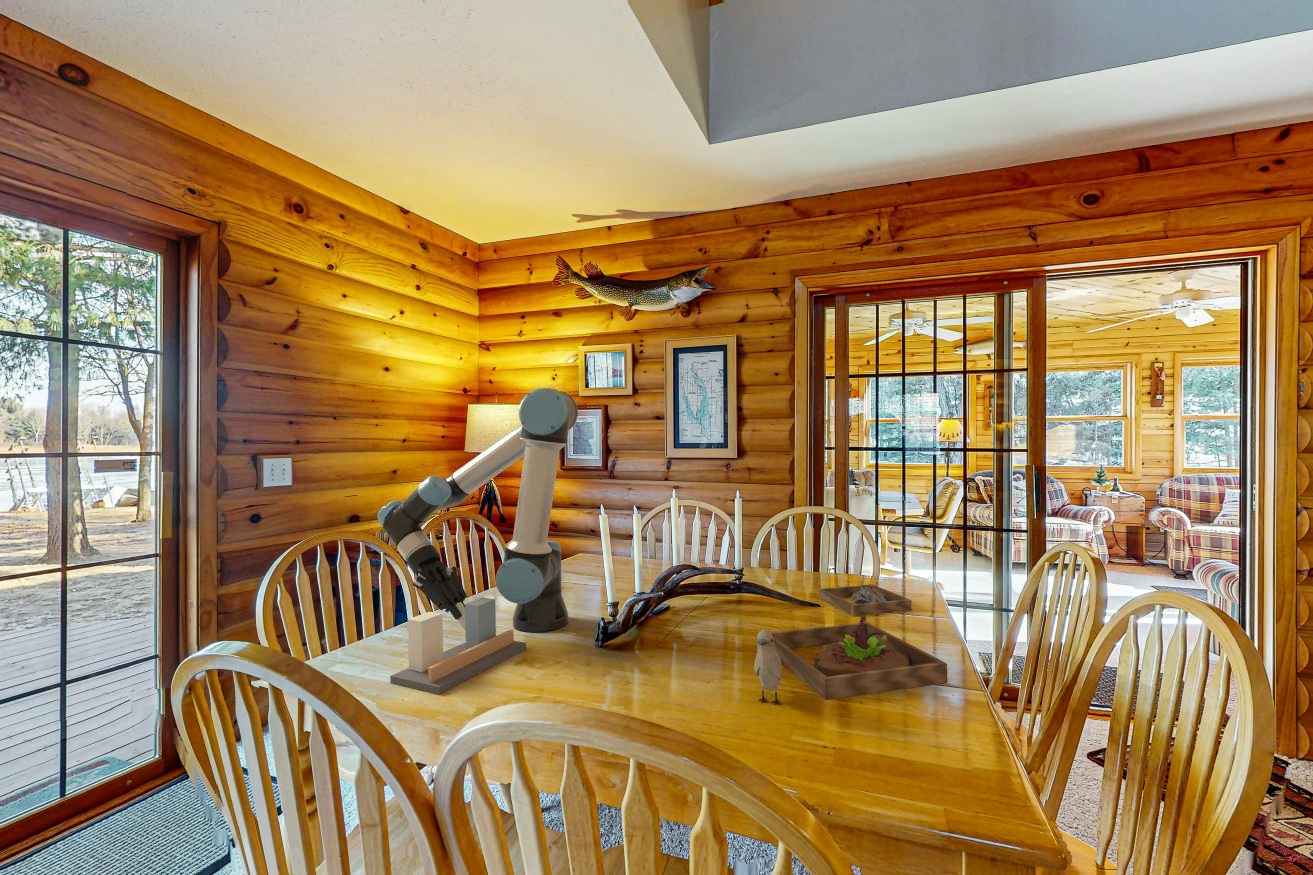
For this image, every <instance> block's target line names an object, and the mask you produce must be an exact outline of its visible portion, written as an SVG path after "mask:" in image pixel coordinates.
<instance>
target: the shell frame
mask: <svg viewBox="0 0 1313 875" xmlns="http://www.w3.org/2000/svg"><path fill="white" fill-rule="evenodd" d="M865 586H867V587H869V588H871V589H872V590H874V591H875V592H877V593H878V594H880V595H881V596H882V597H883V598H885V599H886V600H887V601H886V602H875V603H865V604H861V603H852V602H850V601H849V600H847V599H844V598H850V597H851V598H852V596H853V594H854V593H855V592H857V591H859V590H860V588H861V587H865ZM818 599H819V600H821V601H822V602H825V603H826V604H829V605H831V606H832V607H834V608H836V609H839V610H840V611H842V612H844V613H846V614H848V615H850V616H852V617H859V616H860V617H861V616H862V615H865V616H871V615H872V616H873V615H879V614H889V613H898V612H911V611H912V599H909V598H907V597H905V596H902V595H899V594H898V593H894V591H893V592H892V591H890V590H888V589H885V588H883V587H880V586H877V585H875V584H873V583H871V584H860V585H848V586H837V587H826V588H818Z"/></svg>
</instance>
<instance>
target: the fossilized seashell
mask: <svg viewBox="0 0 1313 875" xmlns="http://www.w3.org/2000/svg"><path fill="white" fill-rule="evenodd" d="M851 600H852V601H853V602H855V603H856V604H865V603H875V602H886V601H887V600H886V599H885V598H883V597H882V596H881V595H880V594H878V593H877V592H875V591H874V590H872V589H871V588H869V587H867V586H865V587H861V588H860V590H859V591H857V592H855V593H854V594H853V596H851Z"/></svg>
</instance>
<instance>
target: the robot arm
mask: <svg viewBox="0 0 1313 875" xmlns="http://www.w3.org/2000/svg"><path fill="white" fill-rule="evenodd" d="M518 406H519V407H518V419H519V421H520V424H519V425H518V426H516V427H515V428H514V429H513V430H511V431H510V432H508V433H507V434H506V435H504V436H503V437H501V438H500V439H499V440H497V441H496V442H495V443H493V444H492V445H490V446H489V447H487V448H486V449H485V450H483V451H482V452H481V453H479V454H478V455H476V456H475V457H474V458H472V459H471V460H469V461H468V462H466V463H465V464H464V465H463V466H461V467H460V468H458V469H457V470H455V472H453V473H452V474H451V475H449V476H448V477H445V479H443V478H442V477H441V476H437V475H435V474H434V475H430V476H428V477H426V479H424V481H421V482H420V483H419V485H418V486H417V487H416V488H415V489H414V490H413V491H412V492H411V493H410V494H409V495H408V496H407V497H406V498H405V499H404V500H403V501H401V500H393V501H390V502H388V503H387V504H386V505H384V506H383V505H382V507H381V508H380V510H379V511H378V513H377V520H378V522H379V523H380V525H381V527H382V530H383V531H384V532H385V533H386V535H387V536H388V537H389V539H390V541H391V542H392V543H393V544H394V546H395V548H396V549H397V551H398V552H399V554H400V555H401V557H402V558H403V560H404V561H406V565H407V566H408V568H409V569H410V570H411V571H412V573H413V574H415V575H416V578H415V579H414V581H413V582H412V586H414V587H415V588H416V589H417V590H418V589H419V590H420V591H421V592H422V593H423V594H424V596H426V598H427V599H429V600H430V601H431V602H432V604H434V605H435V607H437V608H438V609H439V610H440V611H443V610H444V612H445V613H449V612H450V614H451V615H452V617H453V618H454V619H455V620H456V621H458V623H459V624H460V626H461V627H462V629H463V631H464V632H466V626H465V604H466V603H464V601H465V600H466V598H467V597H468V596H467V592H466V591H465V588H464V587H463V584H462V582H461V580H460V576H459V575H458V570H457V567H456V566H452V568H451V567H447V565H446V564H445V563H444V562H442V559H441V553H440V552H439V551H438V549H436V547H435V546H434V545H433V543H432V541H431V539H430V538H429V537H428V535H427V534H426V533H425V531H424V530H423V528H422V526H421V525H422V524H424V523H425V522H426V521H427V520H428V519H429V518H430V517H431V516H432V515H433V514H434V513H435V512H438V511H441V510H445V509H448V508H453V507H457V506H459V505H460V504H463V502H464V501H465V500H466V499H467V497H469V496H470V495H471V494H473V493H474V492H475V491H477V490H478V489H479V488H481V487H483V486H484V485H485V484H487V483H488V482H489V481H491V480H493V479H494V478H495V477H497V476H498V475H499V474H500V473H502V472H503V471H505V470H506V469H508V468H509V467H510V466H512V465H513V464H515V463H516V462H518V461H519V460H520V459H522V458H523V463H522V469H521V470H522V471H521V475H520V476H521V478H520V484H519V485H520V486H519V490H518V491H519V493H518V500H517V507H516V514H515V520H514V527H513V535H512V539H511V540H510V541H508V542H507V543H506V545H505V549H504V555H503V562H502V563H501V564H500V566H499V568H498V569H497V572H496V576H495V584H496V589H497V590H498V592H499V594H501V596H502V597H503V599H505V600H507V601H509V602H511V603H513V604H516V606H515V609H514V613H513V617H512V627H513V628H514V629H515V630H517V631H522V632H528V633H529V632H530V633H537V632H539V633H540V632H541V633H542V632H548V631H553V630H558V629H560V628H563V627H565V626H566V625H567V624H568V623H569V612H568V609H567V606H566V603H565V600H564V598H563V595H562V549H561V548H562V547H561V543H560V542H559V541H557V540H548V536H549V529H550V522H551V514H552V508H553V500H554V493H555V492H554V491H555V485H556V478H557V472H558V464H559V456H560V451H561V449H563V448H564V447H565V446H566V445H567V444H568V437H569V436H568V435H569V431H570V430H571V429H572V428H573V427H574V426H575V424H576V422H577V421H578V417H579V410H578V405H577V403H576V401H575V399H574V398H573V397H572V396H571V395H570V394H568V393H566V392H565V391H562V390H561V391H560V390H558V389H555V388H551V387H539V388H535V389H533V390H531V391H529V392H528V393H527V394H525V396H524V397H523V398H522V399H521V401H520V404H519V405H518Z"/></svg>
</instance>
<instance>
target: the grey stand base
mask: <svg viewBox="0 0 1313 875" xmlns="http://www.w3.org/2000/svg"><path fill="white" fill-rule="evenodd" d="M514 639H515V638H514V629H508V630H506V631H504V632H502V633H500V634H496V636H495V637H493V638H491V639H489V640H487V641H484V642H482V643H480V644H478V645H476V646H474V647H471V648H469V649H467V650H466V641H465V642H463V643H461V644H459V645H456V646H455V647H454V646H453V647H452V648H450V649H448V650H445V651H443V661H441V662H439V663H437V664H435V665H433V666H430V667H428V670H426V671H424V672H419V671H414V670H409V667H407V668H405V669H402V670H400V671H399V672H396V673H394V674H391V675H390V677H389V678H390V684H394V685H397V686H402V687H405V688H410V689H415V690H419V691H423V692H426V693H427V692H428V693H431V694H435V695H441V694H443V693H445V692H447V691H448V690H450V689H452V688H454V687H456V686H458V685H460V684H462V683H464V682H465V680H466V681H468V680H469V679H471V678H473V677H475V676H477V675H479V674H480V672H481V673H483V672H484V670H485V671H487V670H488V669H491V668H492V667H494V666H496V665H498V664H500V663H502V662H504V661H505V660H507V659H509V658H511V657H513V656H515V655H517V654H519V653H521V652H523V651H524V650H526V649H527V642H525V641H520V640H514ZM486 669H487V670H486ZM482 671H483V672H482ZM478 673H479V674H478ZM476 674H477V675H476ZM474 675H475V676H474ZM472 676H473V677H472ZM467 679H468V680H467ZM463 681H464V682H463ZM461 682H462V683H461ZM459 683H460V684H459Z"/></svg>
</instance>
